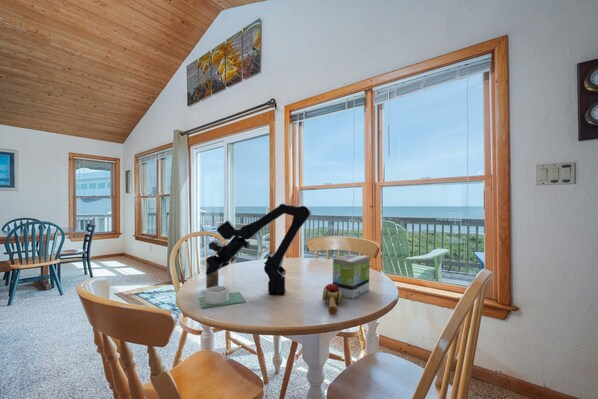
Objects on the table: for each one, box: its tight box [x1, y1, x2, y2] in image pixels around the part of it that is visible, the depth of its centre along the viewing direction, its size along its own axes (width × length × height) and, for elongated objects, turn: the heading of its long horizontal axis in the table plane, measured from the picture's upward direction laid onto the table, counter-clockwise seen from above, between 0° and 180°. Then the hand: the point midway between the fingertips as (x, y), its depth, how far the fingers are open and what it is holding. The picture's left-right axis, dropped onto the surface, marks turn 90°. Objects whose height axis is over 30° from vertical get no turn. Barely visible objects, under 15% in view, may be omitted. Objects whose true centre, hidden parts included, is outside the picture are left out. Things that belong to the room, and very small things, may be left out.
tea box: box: [332, 253, 370, 300], centre depth 119 cm, size 15×10×15 cm, turn 143°
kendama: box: [322, 283, 343, 315], centre depth 104 cm, size 8×6×18 cm
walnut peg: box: [205, 257, 219, 290], centre depth 123 cm, size 5×5×13 cm
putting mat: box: [198, 285, 247, 309], centre depth 109 cm, size 16×12×4 cm
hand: (209, 272), depth 123 cm, fingers closed on walnut peg, 5 cm apart
